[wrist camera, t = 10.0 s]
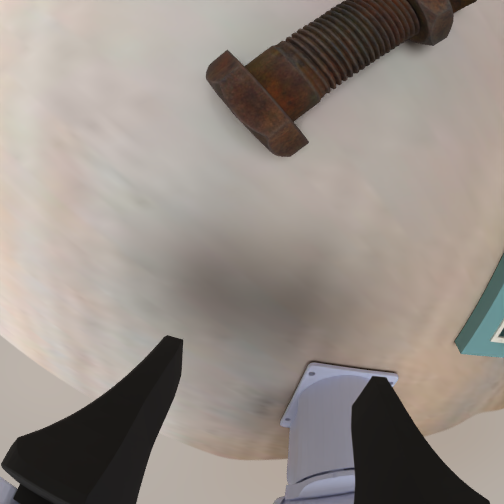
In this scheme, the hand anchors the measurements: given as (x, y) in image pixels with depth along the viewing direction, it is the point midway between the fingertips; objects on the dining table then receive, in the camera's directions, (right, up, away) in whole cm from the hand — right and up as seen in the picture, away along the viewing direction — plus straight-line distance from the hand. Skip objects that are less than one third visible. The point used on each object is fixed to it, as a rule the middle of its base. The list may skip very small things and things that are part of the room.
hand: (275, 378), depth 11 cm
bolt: (+5, +16, +2) cm, 17 cm away
